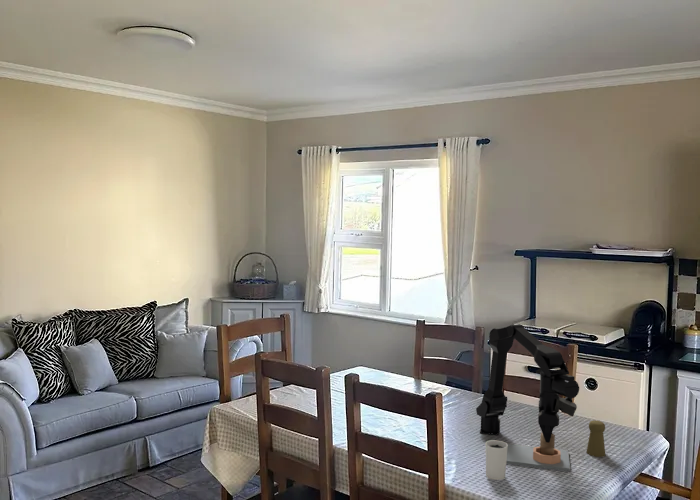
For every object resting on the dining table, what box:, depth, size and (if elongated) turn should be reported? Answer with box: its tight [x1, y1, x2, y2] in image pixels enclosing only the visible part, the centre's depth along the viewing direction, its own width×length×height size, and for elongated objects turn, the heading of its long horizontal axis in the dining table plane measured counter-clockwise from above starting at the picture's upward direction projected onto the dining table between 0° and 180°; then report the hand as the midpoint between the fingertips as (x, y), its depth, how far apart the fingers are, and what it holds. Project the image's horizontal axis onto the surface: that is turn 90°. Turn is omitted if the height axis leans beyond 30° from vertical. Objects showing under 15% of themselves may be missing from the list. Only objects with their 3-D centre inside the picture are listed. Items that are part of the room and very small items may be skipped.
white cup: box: [484, 439, 508, 481], centre depth 194 cm, size 7×7×10 cm
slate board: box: [506, 442, 571, 473], centre depth 209 cm, size 20×16×1 cm
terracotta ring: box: [533, 445, 561, 464], centre depth 206 cm, size 8×8×2 cm
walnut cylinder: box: [539, 432, 556, 456], centre depth 205 cm, size 4×4×8 cm
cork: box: [586, 419, 606, 458], centre depth 213 cm, size 6×6×11 cm
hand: (547, 437), depth 205 cm, fingers open, 9 cm apart
